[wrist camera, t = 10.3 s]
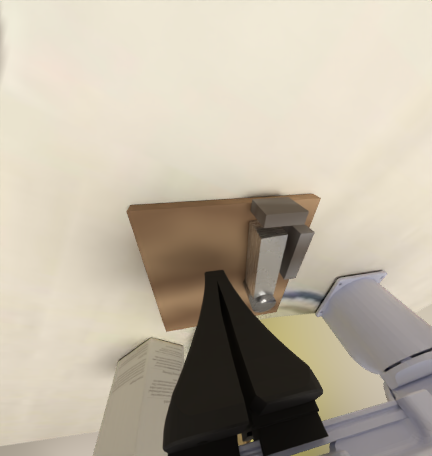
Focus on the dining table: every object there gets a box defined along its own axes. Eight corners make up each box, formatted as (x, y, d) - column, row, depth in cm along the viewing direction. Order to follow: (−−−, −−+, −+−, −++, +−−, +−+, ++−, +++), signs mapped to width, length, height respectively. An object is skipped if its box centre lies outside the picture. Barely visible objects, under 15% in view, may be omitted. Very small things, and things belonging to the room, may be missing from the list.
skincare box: (151, 366, 27) (124, 580, 15) (114, 360, 24) (36, 632, 11) (185, 344, 25) (190, 571, 13) (150, 334, 22) (106, 632, 9)
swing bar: (262, 286, 19) (274, 309, 16) (242, 290, 18) (251, 314, 16) (274, 217, 13) (293, 236, 11) (246, 221, 13) (260, 242, 11)
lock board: (272, 305, 23) (285, 330, 20) (166, 323, 21) (164, 355, 18) (313, 190, 14) (348, 208, 11) (129, 201, 12) (112, 227, 9)
